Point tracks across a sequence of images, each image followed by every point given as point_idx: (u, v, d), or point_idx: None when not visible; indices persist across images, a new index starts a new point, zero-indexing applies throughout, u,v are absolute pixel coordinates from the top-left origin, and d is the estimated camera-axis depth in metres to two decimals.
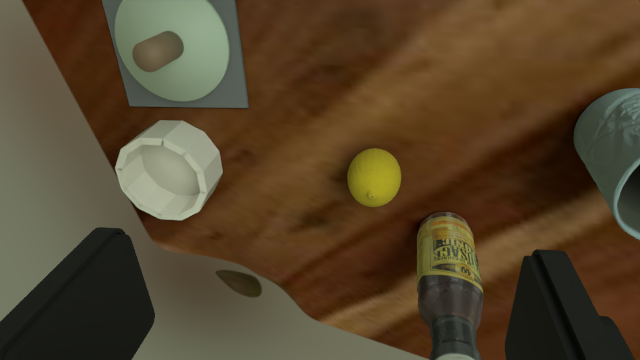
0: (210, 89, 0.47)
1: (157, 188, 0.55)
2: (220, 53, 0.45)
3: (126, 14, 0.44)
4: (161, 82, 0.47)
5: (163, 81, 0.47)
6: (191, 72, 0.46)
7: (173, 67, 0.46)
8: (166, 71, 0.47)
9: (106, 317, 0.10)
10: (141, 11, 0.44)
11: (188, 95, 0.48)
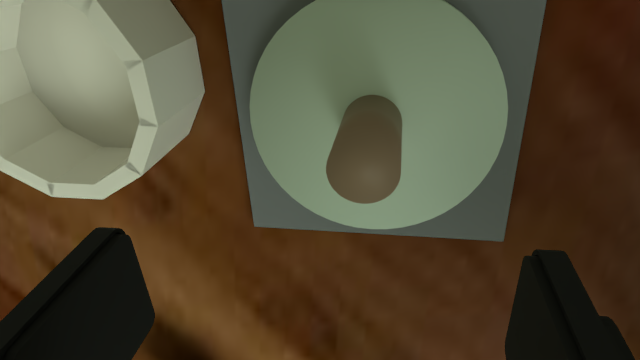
0: (283, 185, 0.23)
1: (13, 8, 0.21)
2: (355, 215, 0.23)
3: (444, 32, 0.18)
4: (288, 84, 0.21)
5: (291, 89, 0.21)
6: (315, 155, 0.22)
7: (324, 119, 0.21)
8: (315, 102, 0.21)
9: (106, 317, 0.10)
10: (448, 72, 0.19)
11: (265, 138, 0.22)
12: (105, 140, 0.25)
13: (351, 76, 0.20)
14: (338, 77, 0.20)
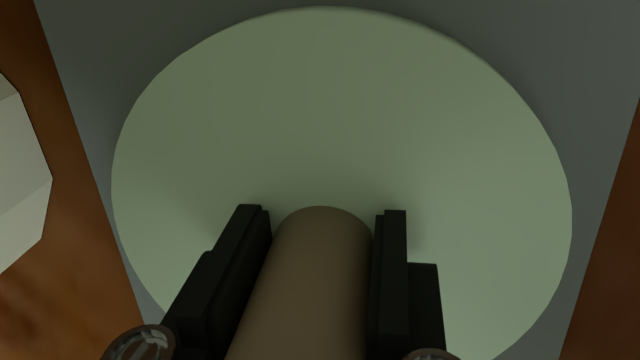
0: None
1: None
2: None
3: (454, 102, 0.09)
4: (173, 184, 0.12)
5: (179, 193, 0.12)
6: None
7: None
8: (222, 214, 0.12)
9: None
10: (461, 173, 0.10)
11: (149, 265, 0.13)
12: None
13: (282, 175, 0.11)
14: (259, 176, 0.11)
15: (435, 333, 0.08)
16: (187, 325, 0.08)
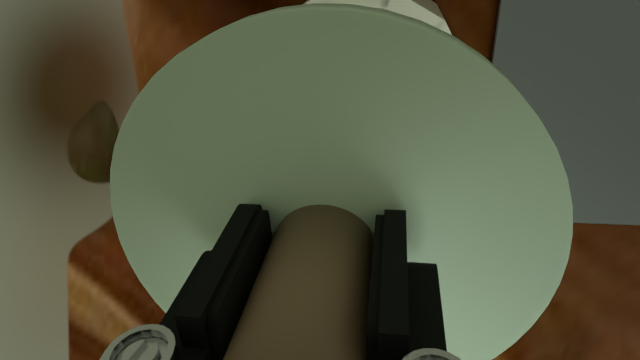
0: None
1: None
2: None
3: (454, 101, 0.09)
4: (172, 183, 0.11)
5: (178, 192, 0.12)
6: None
7: None
8: (222, 213, 0.12)
9: None
10: (461, 172, 0.10)
11: (149, 264, 0.13)
12: None
13: (281, 173, 0.11)
14: (259, 175, 0.11)
15: (435, 333, 0.08)
16: (187, 325, 0.08)
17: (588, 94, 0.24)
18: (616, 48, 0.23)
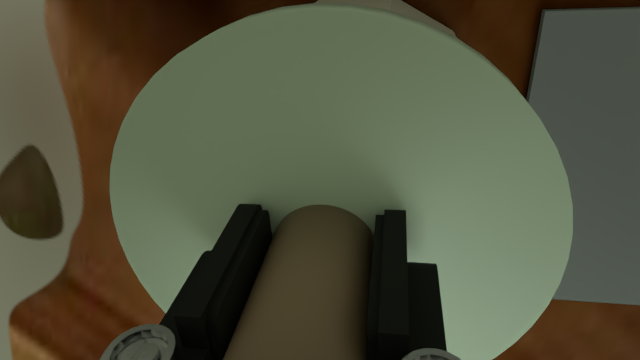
0: None
1: None
2: None
3: (454, 100, 0.09)
4: (171, 183, 0.11)
5: (178, 192, 0.12)
6: None
7: None
8: (222, 213, 0.12)
9: None
10: (461, 172, 0.10)
11: (148, 264, 0.13)
12: None
13: (281, 173, 0.11)
14: (259, 175, 0.11)
15: (436, 333, 0.08)
16: (187, 325, 0.08)
17: None
18: None
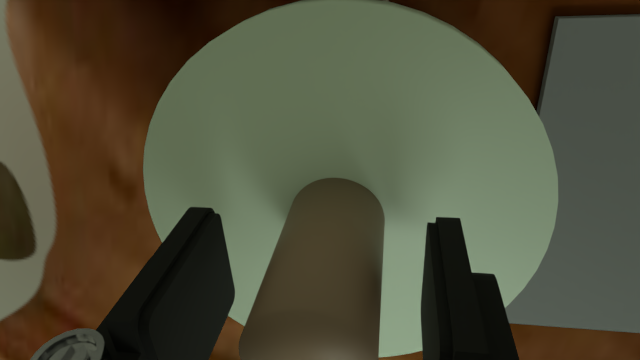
0: None
1: None
2: None
3: (452, 82, 0.11)
4: (200, 159, 0.13)
5: (205, 167, 0.13)
6: (253, 260, 0.14)
7: (261, 211, 0.13)
8: (244, 187, 0.13)
9: (205, 290, 0.10)
10: (459, 146, 0.11)
11: None
12: None
13: (299, 149, 0.12)
14: (278, 151, 0.12)
15: (507, 349, 0.08)
16: (118, 330, 0.08)
17: None
18: None
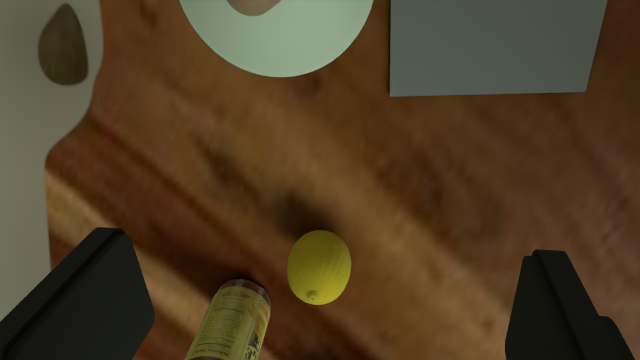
0: (207, 40, 0.28)
1: None
2: (269, 65, 0.28)
3: None
4: None
5: None
6: (230, 9, 0.27)
7: None
8: None
9: (106, 317, 0.10)
10: None
11: None
12: None
13: None
14: None
15: None
16: None
17: None
18: None
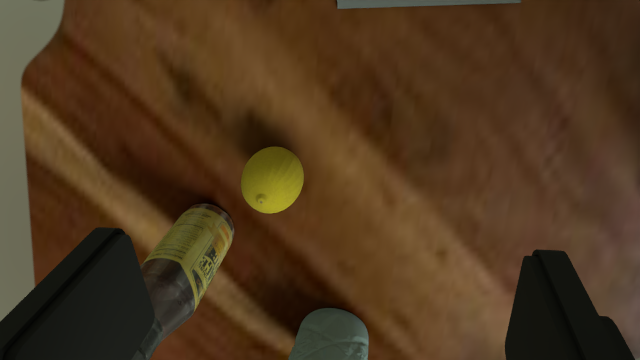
0: None
1: None
2: None
3: None
4: None
5: None
6: None
7: None
8: None
9: (106, 317, 0.10)
10: None
11: None
12: None
13: None
14: None
15: None
16: None
17: None
18: None
